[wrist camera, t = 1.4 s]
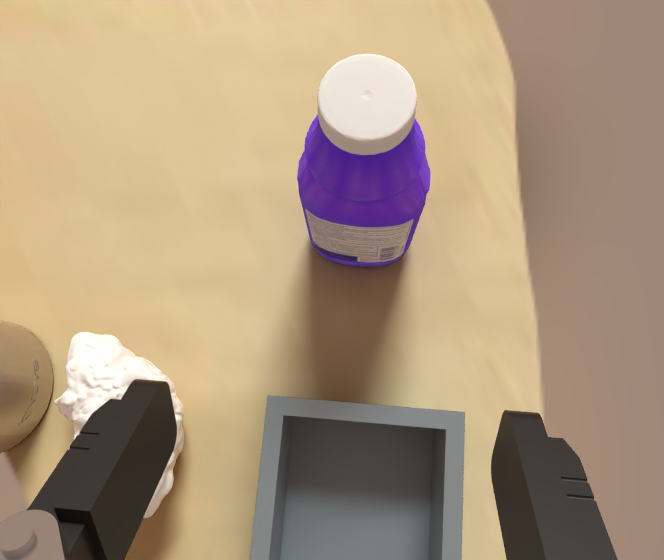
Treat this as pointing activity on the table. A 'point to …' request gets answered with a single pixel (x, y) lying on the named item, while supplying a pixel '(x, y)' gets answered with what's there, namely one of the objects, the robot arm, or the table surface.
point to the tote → (359, 482)
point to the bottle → (364, 163)
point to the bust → (112, 390)
